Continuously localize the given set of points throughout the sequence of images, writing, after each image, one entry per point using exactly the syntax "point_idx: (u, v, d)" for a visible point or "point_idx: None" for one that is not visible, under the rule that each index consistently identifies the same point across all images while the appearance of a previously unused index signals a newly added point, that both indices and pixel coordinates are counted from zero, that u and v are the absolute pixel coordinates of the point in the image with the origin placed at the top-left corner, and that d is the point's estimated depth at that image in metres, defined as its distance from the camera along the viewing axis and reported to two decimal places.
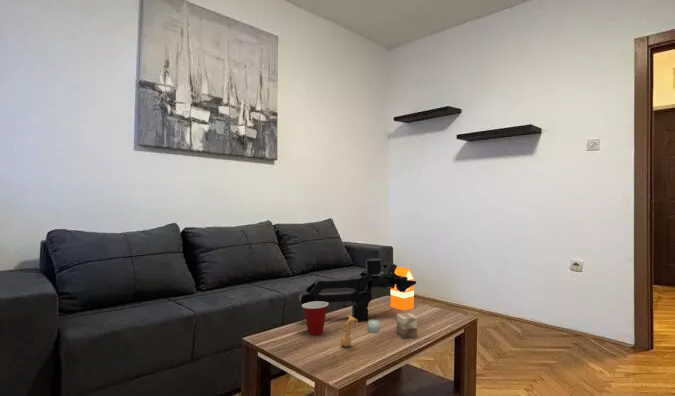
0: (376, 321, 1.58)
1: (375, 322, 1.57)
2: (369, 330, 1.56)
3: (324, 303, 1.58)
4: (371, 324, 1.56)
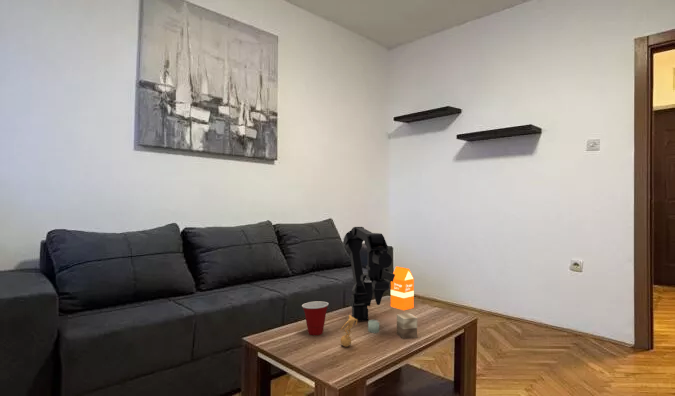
0: (376, 321, 1.58)
1: (375, 322, 1.57)
2: (369, 330, 1.56)
3: (324, 303, 1.58)
4: (371, 324, 1.56)
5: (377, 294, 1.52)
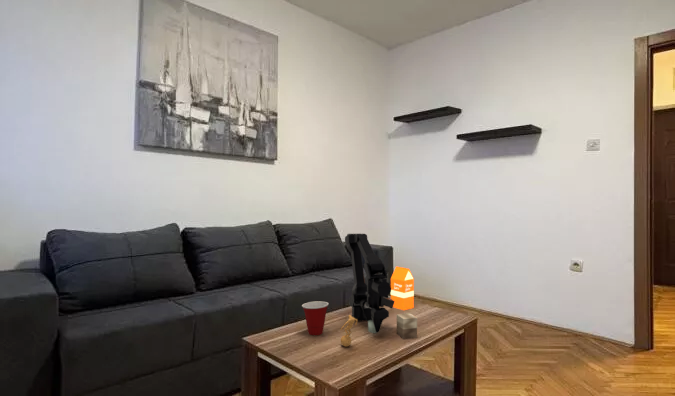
0: None
1: None
2: (369, 330, 1.56)
3: (324, 303, 1.58)
4: (371, 324, 1.56)
5: (376, 322, 1.52)
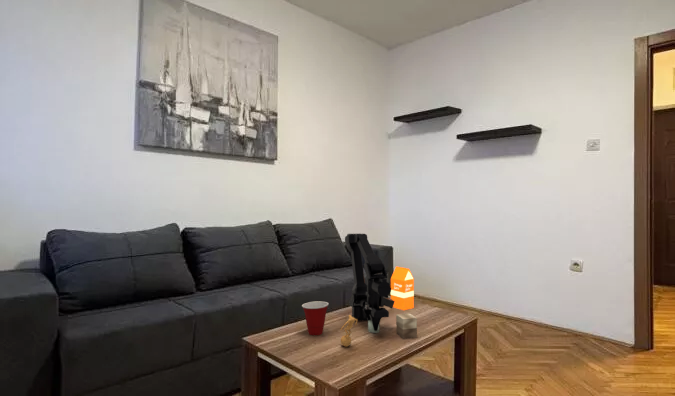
0: None
1: None
2: (369, 330, 1.56)
3: (324, 303, 1.58)
4: (371, 323, 1.56)
5: (374, 320, 1.54)
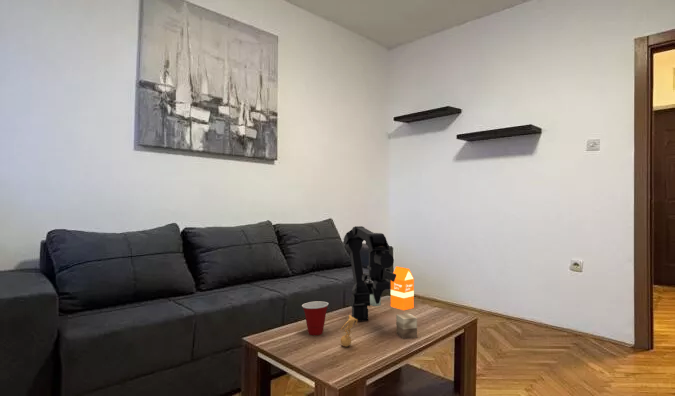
0: None
1: None
2: (371, 303, 1.56)
3: (324, 303, 1.58)
4: (373, 297, 1.55)
5: (376, 293, 1.54)
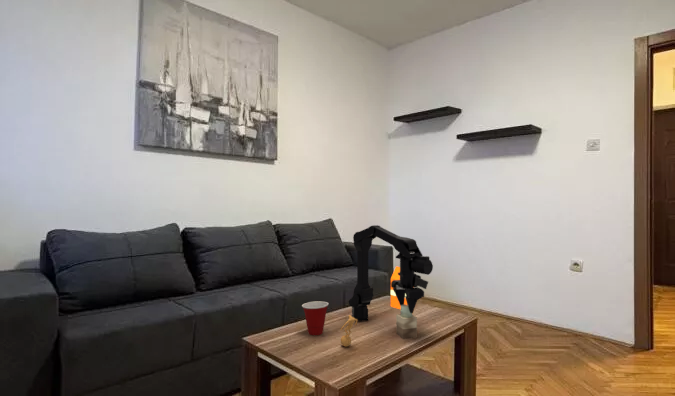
0: None
1: None
2: (402, 315, 1.51)
3: (324, 303, 1.58)
4: (404, 308, 1.51)
5: (410, 302, 1.47)
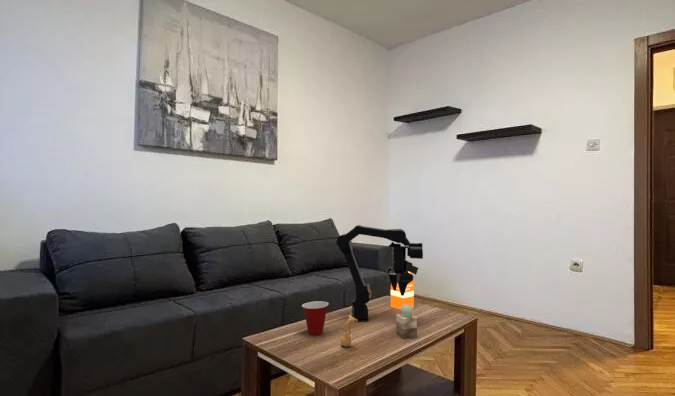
0: (409, 305, 1.53)
1: (408, 306, 1.52)
2: (402, 315, 1.51)
3: (324, 303, 1.58)
4: (404, 308, 1.51)
5: (401, 285, 1.64)
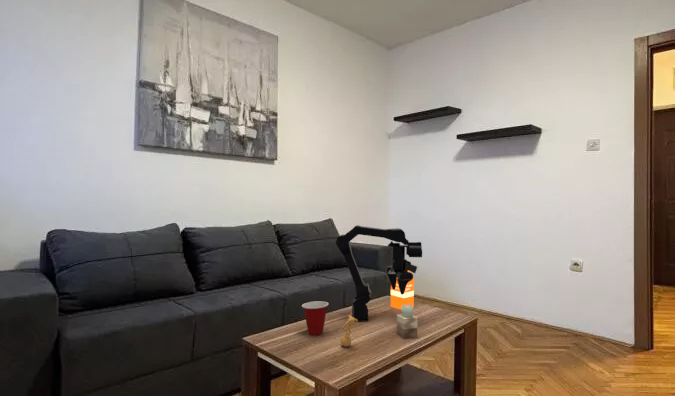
0: (410, 306, 1.53)
1: (409, 306, 1.52)
2: (403, 315, 1.51)
3: (324, 303, 1.58)
4: (405, 308, 1.51)
5: (401, 284, 1.65)
